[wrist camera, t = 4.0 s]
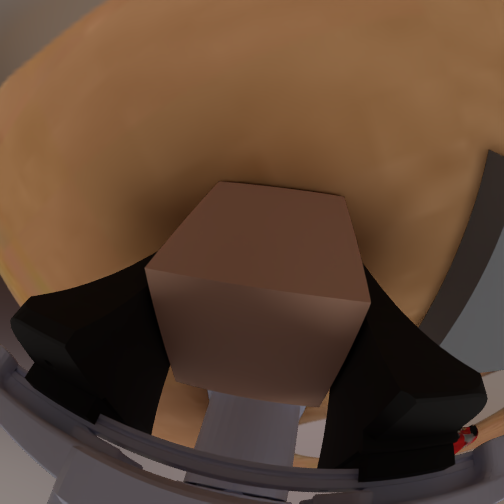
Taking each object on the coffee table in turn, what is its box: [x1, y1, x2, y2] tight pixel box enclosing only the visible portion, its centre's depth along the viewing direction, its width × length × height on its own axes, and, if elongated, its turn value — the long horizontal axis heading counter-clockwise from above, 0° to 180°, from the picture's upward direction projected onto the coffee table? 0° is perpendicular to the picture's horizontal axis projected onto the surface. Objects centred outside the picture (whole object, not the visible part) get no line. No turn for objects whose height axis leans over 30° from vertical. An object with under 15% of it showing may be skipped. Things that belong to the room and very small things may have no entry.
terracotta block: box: [145, 181, 371, 407], centre depth 10 cm, size 5×5×6 cm
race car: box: [453, 425, 478, 454], centre depth 21 cm, size 13×5×4 cm, turn 72°
